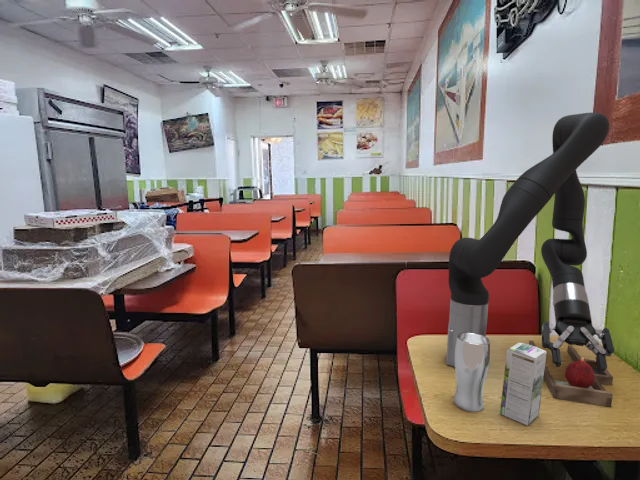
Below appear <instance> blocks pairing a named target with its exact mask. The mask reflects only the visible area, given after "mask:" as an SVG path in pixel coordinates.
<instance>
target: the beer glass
mask: <svg viewBox="0 0 640 480" xmlns="http://www.w3.org/2000/svg"><path fill="white" fill-rule="evenodd" d="M490 356H491V340H490V338H489V337H487V336H483V335H481V334H477V333H460V334H458V335H457V341H456V347H455V367H454V371H455V372H454V373H455V379H456V380H455V381H456V389H455V393H454V397H453V403H454V406H455V407H458V408H459V409H460V410H463V411H465V412H469V413H477V412H480V411H482V410H483V409H484V399H483V398H484V397H483V390H484V385H485V382H486V379H487V375H488V373H489V367H490V361H491V357H490Z"/></svg>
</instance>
